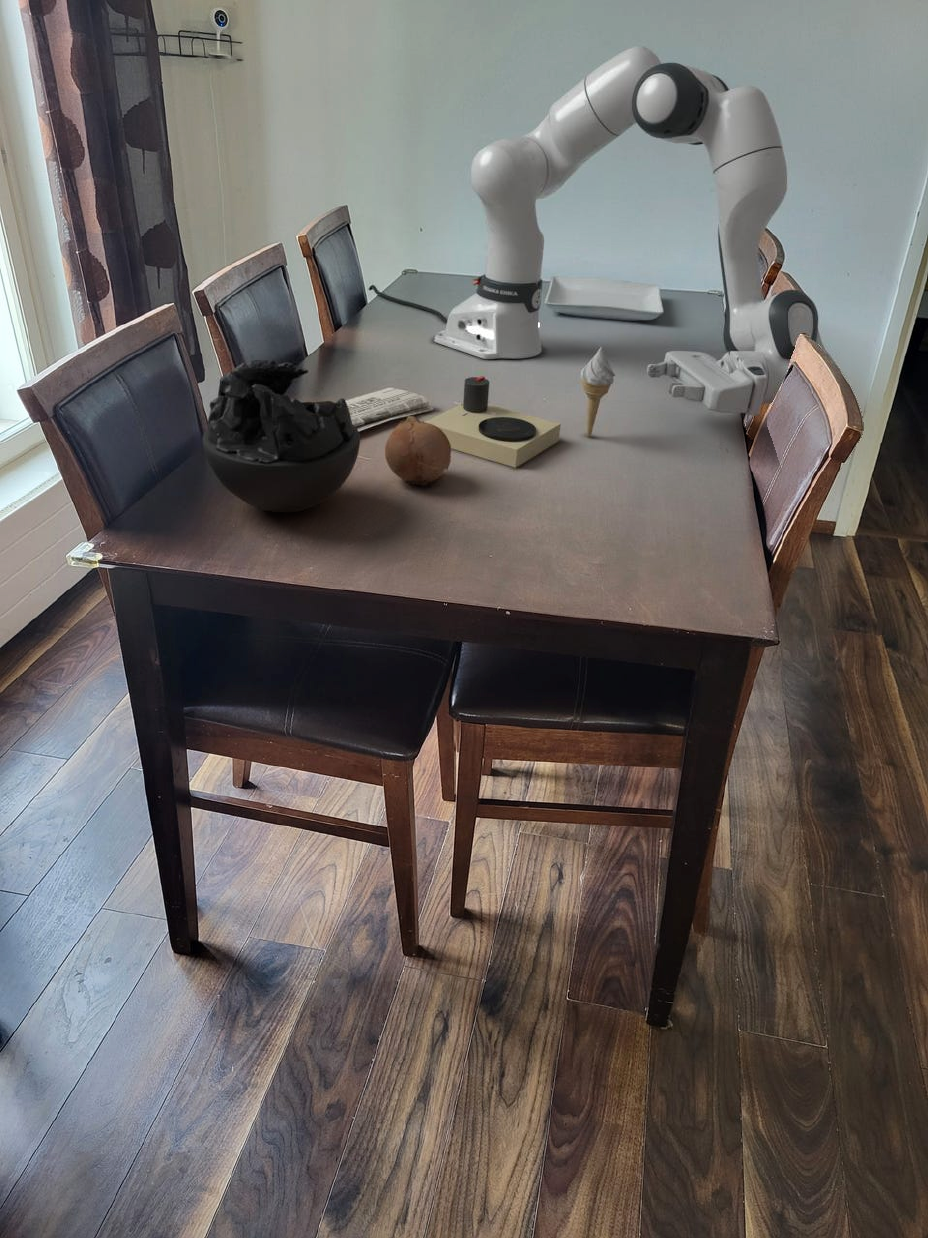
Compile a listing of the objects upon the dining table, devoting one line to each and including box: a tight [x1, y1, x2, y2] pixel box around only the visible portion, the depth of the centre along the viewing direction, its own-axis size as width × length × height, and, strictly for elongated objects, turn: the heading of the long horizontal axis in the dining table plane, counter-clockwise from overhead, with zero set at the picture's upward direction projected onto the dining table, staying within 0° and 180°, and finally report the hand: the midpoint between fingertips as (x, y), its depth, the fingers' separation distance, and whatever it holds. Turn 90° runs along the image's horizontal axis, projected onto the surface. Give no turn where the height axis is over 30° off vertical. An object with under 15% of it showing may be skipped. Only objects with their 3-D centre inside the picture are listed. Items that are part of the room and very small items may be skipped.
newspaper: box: [345, 387, 435, 432], centre depth 154 cm, size 23×12×2 cm, turn 138°
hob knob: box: [462, 375, 490, 413], centre depth 150 cm, size 4×4×5 cm
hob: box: [424, 401, 561, 469], centre depth 148 cm, size 18×15×3 cm
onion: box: [384, 415, 452, 486], centre depth 132 cm, size 10×9×10 cm
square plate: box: [544, 275, 665, 322], centre depth 223 cm, size 27×27×4 cm
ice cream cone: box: [579, 345, 616, 438], centre depth 148 cm, size 6×6×15 cm
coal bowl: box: [201, 358, 361, 513], centre depth 120 cm, size 20×20×19 cm
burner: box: [478, 417, 536, 442], centre depth 144 cm, size 9×9×1 cm
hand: (659, 380), depth 150 cm, fingers open, 8 cm apart
